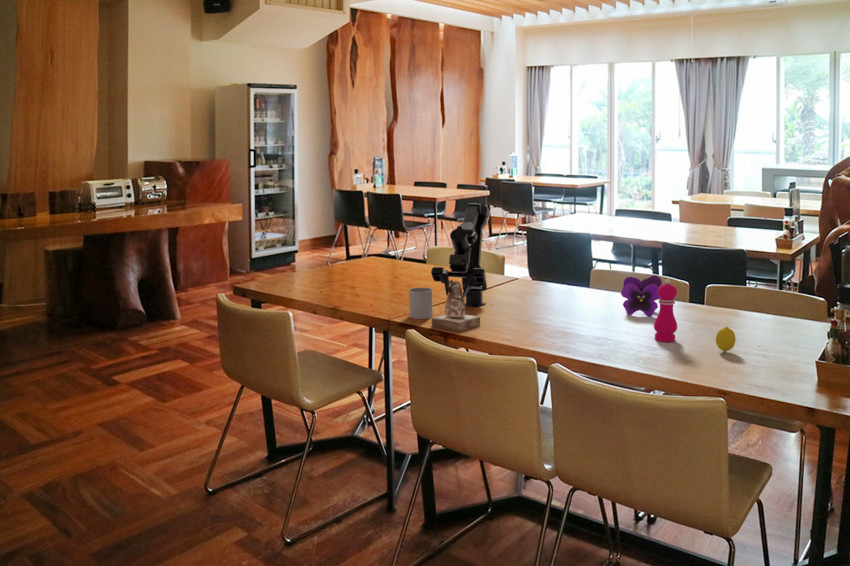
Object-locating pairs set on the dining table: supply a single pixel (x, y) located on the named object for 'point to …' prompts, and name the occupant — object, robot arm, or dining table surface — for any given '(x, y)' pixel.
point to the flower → (641, 295)
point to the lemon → (725, 339)
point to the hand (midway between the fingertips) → (455, 295)
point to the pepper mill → (666, 313)
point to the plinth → (456, 322)
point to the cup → (420, 303)
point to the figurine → (455, 301)
